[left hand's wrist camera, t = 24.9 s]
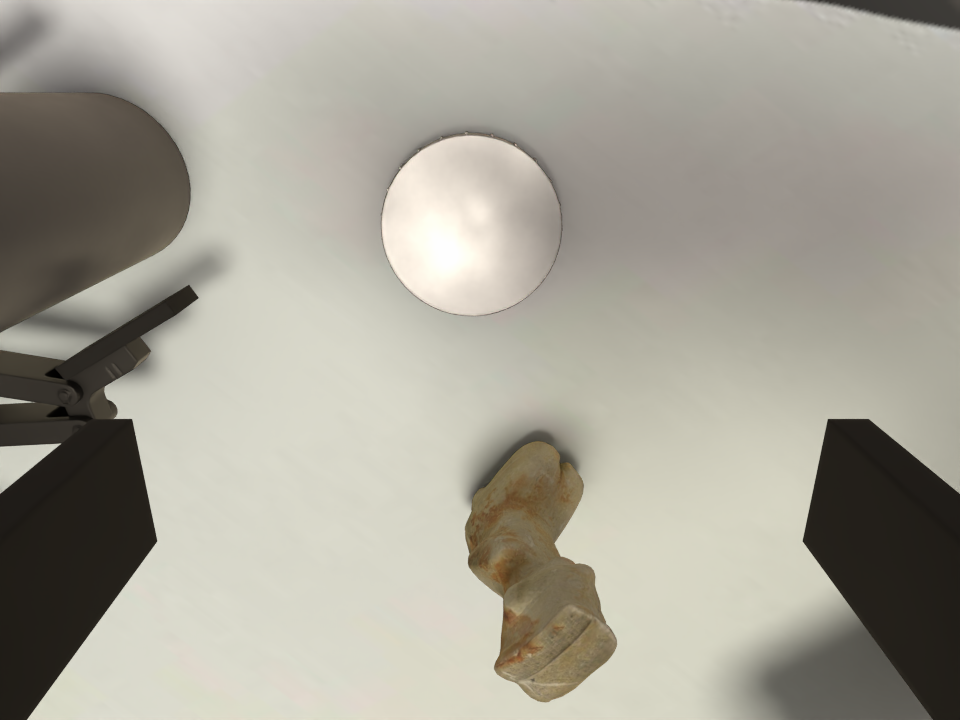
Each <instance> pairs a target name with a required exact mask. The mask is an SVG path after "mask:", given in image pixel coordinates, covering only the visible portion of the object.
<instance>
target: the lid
mask: <svg viewBox="0 0 960 720" xmlns="http://www.w3.org/2000/svg"><path fill="white" fill-rule="evenodd" d="M417 151H418V152H417V153H416V154H414V155H413V156H412V157H411V158H410V159H409V160H408V161H407V162H406V163H405V164H404V165H402V166H401V167H400V168H399V169H400V170H399V172H398V173H397V174H396V176H395V178H394V179H393V181H392V183H391V185H390V187H389V188H388V189H387V191H388V192H387V194H386V197H385V200H384V204H383V209H382V213H381V216H382V217H381V235H382V241H383V246H384V250H385V253H386V256H387V259H388V261H389V263H390V266H391V268H392V269H393V271H394V273H395V274H396V276H397V277H398V279H399V280H400V281H401V282H402V284H403V285H404V286H405V287H406V288H407V289H408V290H409V291H410V292H411V293H412V294H413V295H414V296H416V297H417V298H418V299H420V300H421V301H422V302H424V303H426V304H428V305H429V306H431V307H433V308H436V309H438V310H441V311H443V312H447V313H451V314H455V315H462V316H481V315H488V314H493V313H497V312H500V311H503V310H505V309H508V308H510V307H512V306H514V305H516V304H518V303H519V302H521V301H522V300H524V299H525V298H527V297H528V296H529V295H530V294H531V293H532V292H534V291H535V290H536V289H537V288H538V286H539V285H540V284H541V283H542V282H543V281H544V279H545V278H546V276H547V275H548V273H549V272H550V270H551V268H552V266H553V264H554V262H555V259H556V256H557V254H558V251H559V246H560V241H561V234H562V217H561V210H560V206H561V205H560V203H559V201H558V198H557V195H556V192H555V190H554V188H553V186H552V184H551V183H552V180H551V179H550V178H548V177H547V175H546V174H545V172H544V171H543V169H542V168H541V167H540V166H539V165H538V164H537V163H536V162H537V160H536V159H535V158H534V159H533V158H532V157H531V156H529V155H528V154H527V153H526V152H525V151H524V150H522V149H521V148H519V147H518V146H517V144H516V143H514V144H513V143H511V142H508V141H506V140H504V139H502V138H498V137H495V136H493V134H491V135H487V134H481V133H468V131H466V132H465V133H463V134H455V135H451V136H447V137H444V138H443V136H442V137H440V139H439V140H436V141H434V142H432V143H430V144H429V145H427V146H425V147H423V148H422V149H421V148H419V149H418V150H417Z"/></svg>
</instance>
